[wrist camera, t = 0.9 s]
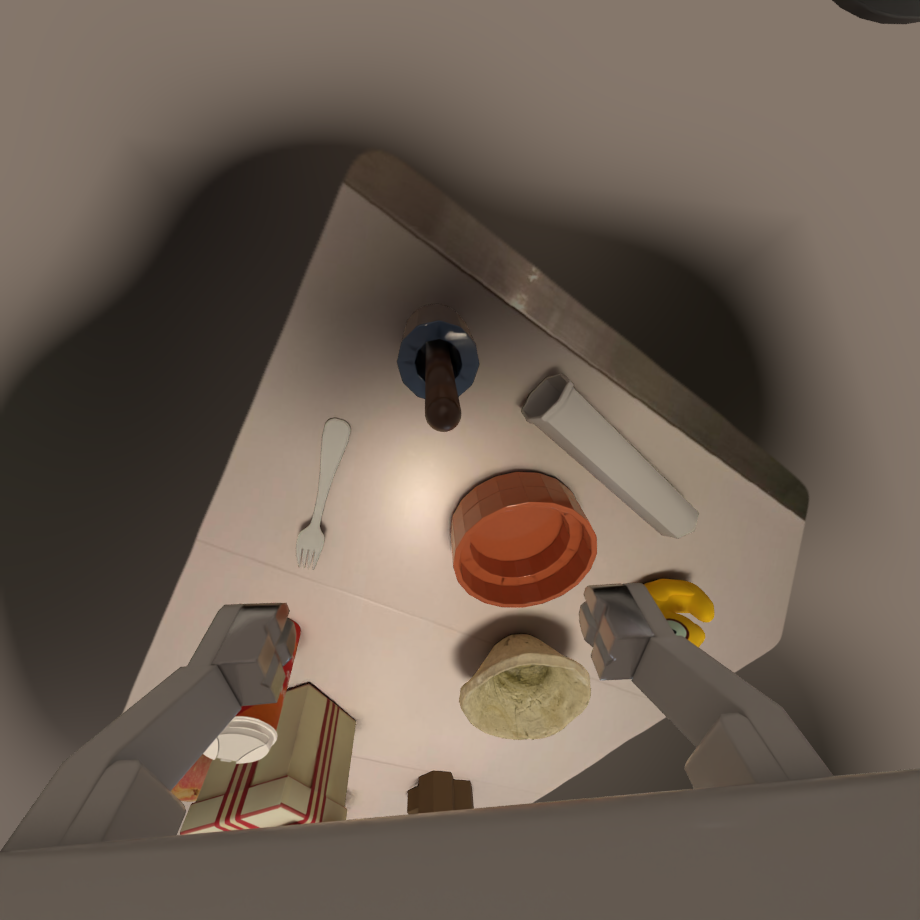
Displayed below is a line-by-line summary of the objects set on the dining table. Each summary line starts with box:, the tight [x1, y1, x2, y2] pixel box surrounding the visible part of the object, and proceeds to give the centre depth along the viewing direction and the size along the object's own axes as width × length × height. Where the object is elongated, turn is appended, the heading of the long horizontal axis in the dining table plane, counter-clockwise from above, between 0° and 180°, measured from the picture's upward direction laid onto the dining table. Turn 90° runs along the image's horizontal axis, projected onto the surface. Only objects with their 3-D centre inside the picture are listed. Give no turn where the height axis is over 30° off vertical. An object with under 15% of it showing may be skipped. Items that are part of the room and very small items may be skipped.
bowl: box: [459, 634, 591, 740], centre depth 52 cm, size 14×18×15 cm
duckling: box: [643, 579, 714, 648], centre depth 48 cm, size 11×5×10 cm, turn 106°
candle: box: [407, 771, 474, 814], centre depth 74 cm, size 14×14×15 cm
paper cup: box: [203, 619, 301, 764], centre depth 45 cm, size 8×8×14 cm
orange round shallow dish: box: [450, 472, 597, 607], centre depth 42 cm, size 15×15×6 cm
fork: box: [296, 418, 351, 570], centre depth 41 cm, size 3×21×3 cm, turn 160°
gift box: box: [180, 684, 356, 835], centre depth 55 cm, size 17×18×17 cm
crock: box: [397, 304, 479, 399], centre depth 29 cm, size 6×6×8 cm
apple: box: [171, 754, 212, 802], centre depth 60 cm, size 9×9×8 cm
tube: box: [521, 373, 699, 538], centre depth 39 cm, size 5×5×25 cm
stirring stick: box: [425, 339, 461, 432], centre depth 25 cm, size 2×2×17 cm
